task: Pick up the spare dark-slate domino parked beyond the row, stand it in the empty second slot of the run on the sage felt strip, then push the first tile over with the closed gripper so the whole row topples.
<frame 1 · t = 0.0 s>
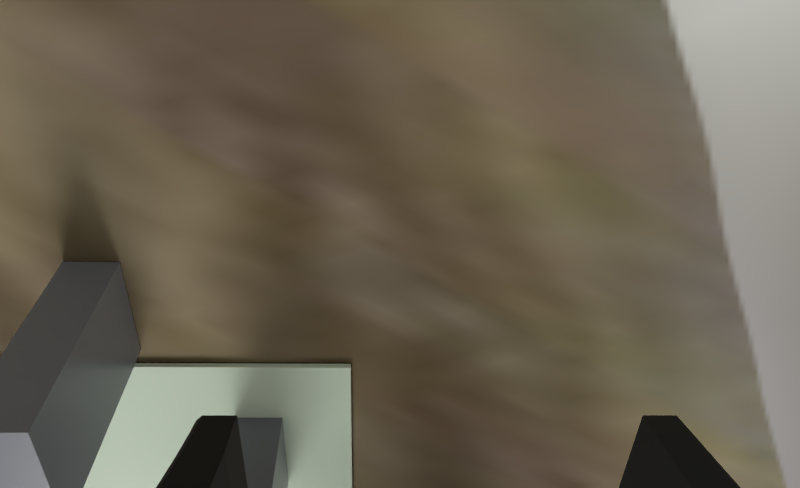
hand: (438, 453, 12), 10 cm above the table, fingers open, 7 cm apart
tile 1: (262, 450, 27), resting on felt strip
felt strip: (18, 447, 27), on the table
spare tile: (103, 307, 23), on the table
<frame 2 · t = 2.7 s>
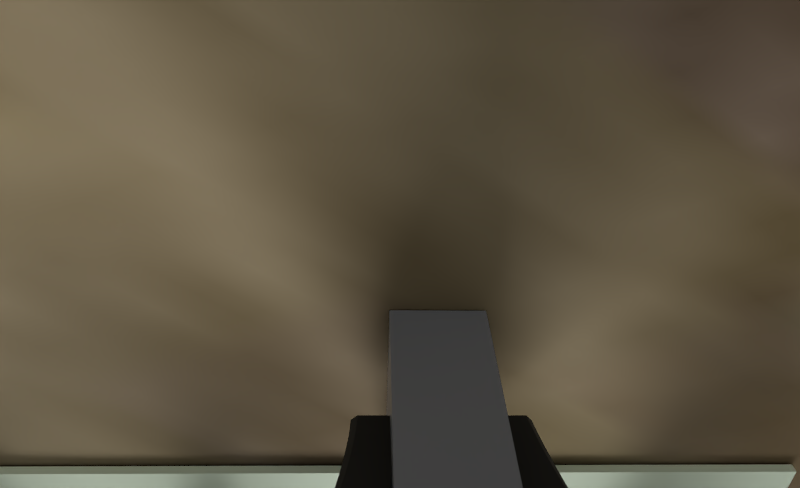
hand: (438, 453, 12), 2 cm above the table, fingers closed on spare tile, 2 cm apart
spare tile: (432, 383, 14), on the table, touching gripper
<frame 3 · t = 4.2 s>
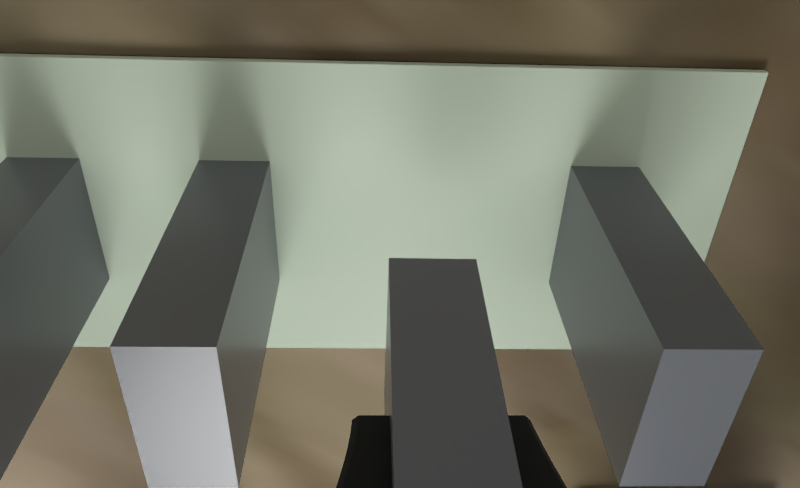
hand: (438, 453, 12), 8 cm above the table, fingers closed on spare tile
tile 1: (591, 227, 19), resting on felt strip
tile 3: (241, 223, 19), resting on felt strip
tile 4: (61, 221, 18), resting on felt strip
felt strip: (246, 219, 19), on the table
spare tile: (427, 328, 15), point 5 cm above the table, touching gripper
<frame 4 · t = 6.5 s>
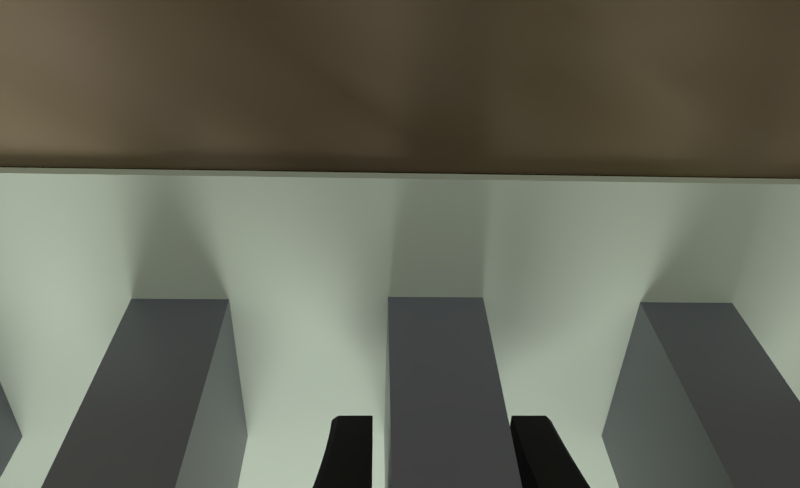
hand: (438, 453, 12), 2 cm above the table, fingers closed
tile 1: (662, 374, 14), resting on felt strip
tile 3: (194, 372, 14), resting on felt strip
felt strip: (201, 365, 14), on the table
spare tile: (429, 370, 14), resting on felt strip
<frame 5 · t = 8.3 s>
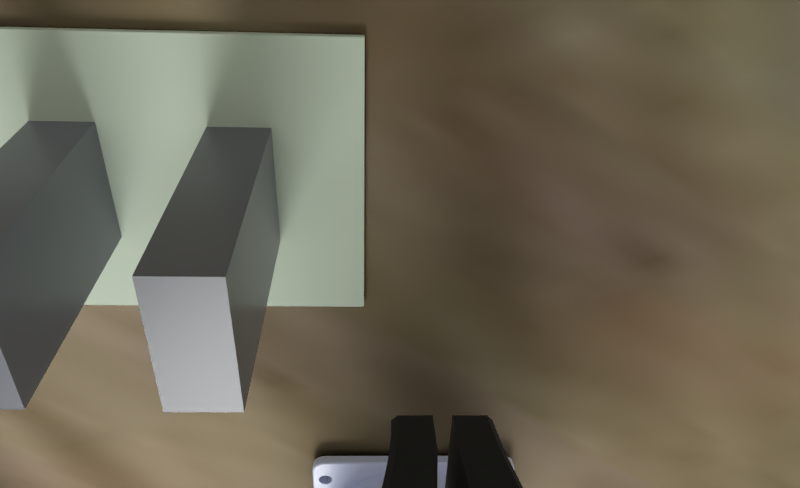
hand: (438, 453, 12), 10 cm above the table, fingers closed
tile 1: (245, 186, 20), resting on felt strip
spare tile: (77, 181, 20), resting on felt strip
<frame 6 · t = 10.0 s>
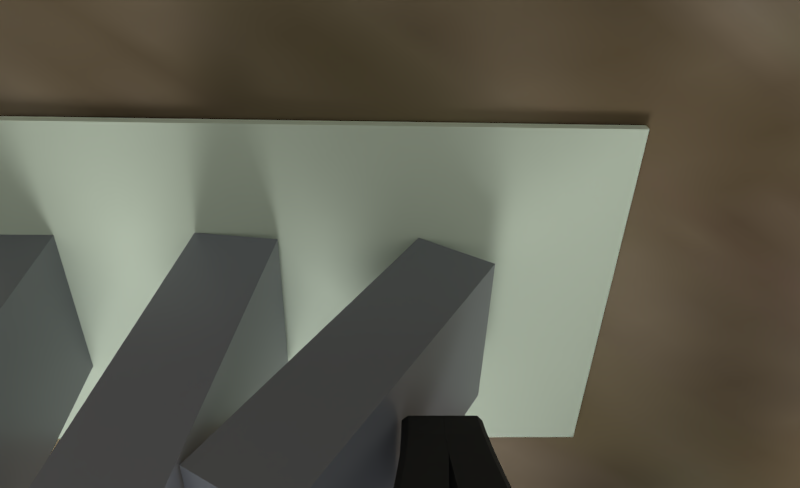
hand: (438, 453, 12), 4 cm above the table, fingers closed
tile 1: (449, 319, 15), point 1 cm above the table, tilted 32°, touching felt strip
tile 3: (34, 304, 16), resting on felt strip
felt strip: (42, 299, 16), on the table
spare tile: (244, 305, 16), resting on felt strip, tilted 7°
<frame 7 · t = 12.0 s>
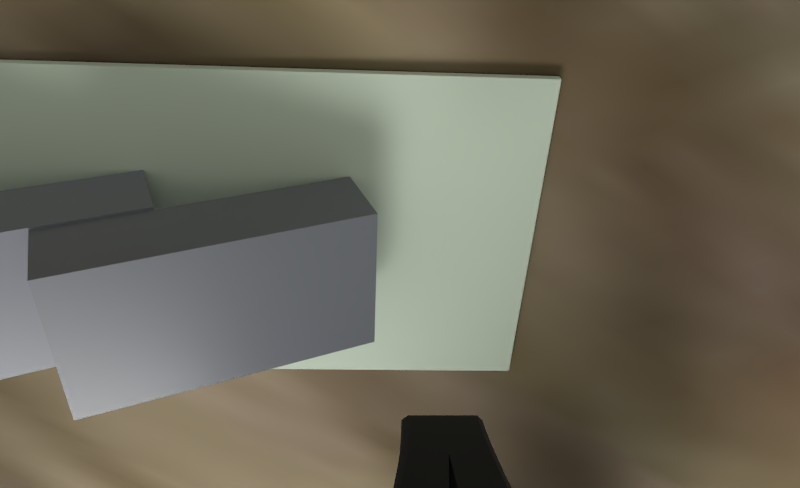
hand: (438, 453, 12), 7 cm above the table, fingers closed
tile 1: (362, 261, 17), point 1 cm above the table, tilted 68°, touching felt strip, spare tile
felt strip: (21, 232, 17), on the table
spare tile: (160, 255, 17), point 1 cm above the table, tilted 68°, touching felt strip, tile 1, tile 3
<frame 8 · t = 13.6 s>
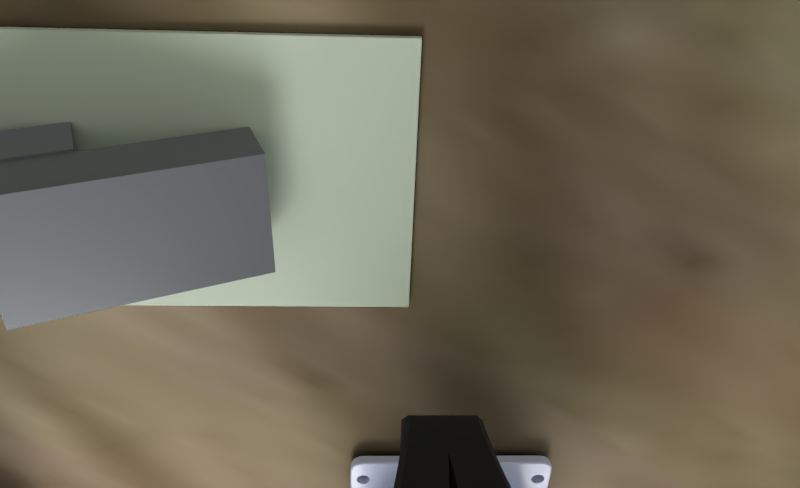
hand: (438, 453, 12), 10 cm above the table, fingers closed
tile 1: (262, 200, 20), point 1 cm above the table, tilted 68°, touching felt strip, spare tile
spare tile: (87, 196, 19), point 1 cm above the table, tilted 68°, touching felt strip, tile 1, tile 3
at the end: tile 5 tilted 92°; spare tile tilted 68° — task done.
